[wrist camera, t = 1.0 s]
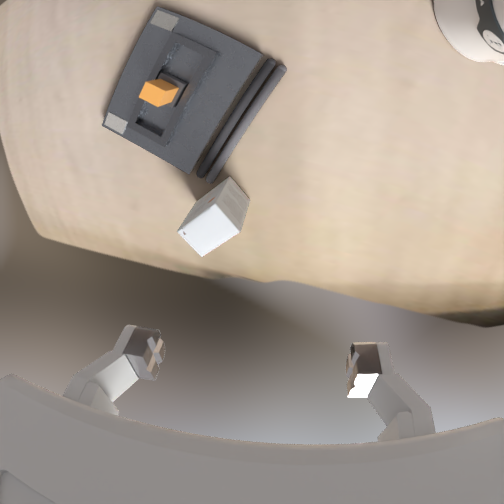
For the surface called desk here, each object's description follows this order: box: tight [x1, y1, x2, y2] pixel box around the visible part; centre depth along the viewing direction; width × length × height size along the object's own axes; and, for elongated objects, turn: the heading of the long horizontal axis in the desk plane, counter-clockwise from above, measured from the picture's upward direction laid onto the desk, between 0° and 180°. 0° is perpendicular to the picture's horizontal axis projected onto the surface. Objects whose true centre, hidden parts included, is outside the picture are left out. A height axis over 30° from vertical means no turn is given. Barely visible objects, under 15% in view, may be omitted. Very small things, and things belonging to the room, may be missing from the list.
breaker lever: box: [139, 72, 188, 108], centre depth 35 cm, size 4×4×6 cm
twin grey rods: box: [197, 58, 287, 184], centre depth 42 cm, size 22×3×1 cm, turn 149°
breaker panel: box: [102, 7, 264, 174], centre depth 38 cm, size 22×18×4 cm
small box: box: [177, 176, 250, 257], centre depth 46 cm, size 8×6×10 cm
